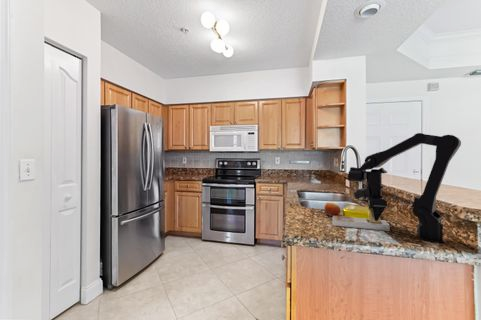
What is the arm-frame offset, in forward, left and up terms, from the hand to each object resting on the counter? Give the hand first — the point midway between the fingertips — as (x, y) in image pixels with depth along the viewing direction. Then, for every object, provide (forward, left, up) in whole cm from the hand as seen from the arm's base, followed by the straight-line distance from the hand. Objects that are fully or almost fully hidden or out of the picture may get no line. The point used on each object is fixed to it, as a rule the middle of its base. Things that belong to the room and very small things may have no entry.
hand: (374, 218), depth 98 cm
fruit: (+17, -15, -4) cm, 23 cm away
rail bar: (+6, 0, -4) cm, 7 cm away
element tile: (+3, -19, -5) cm, 20 cm away
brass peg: (0, 0, -4) cm, 4 cm away
